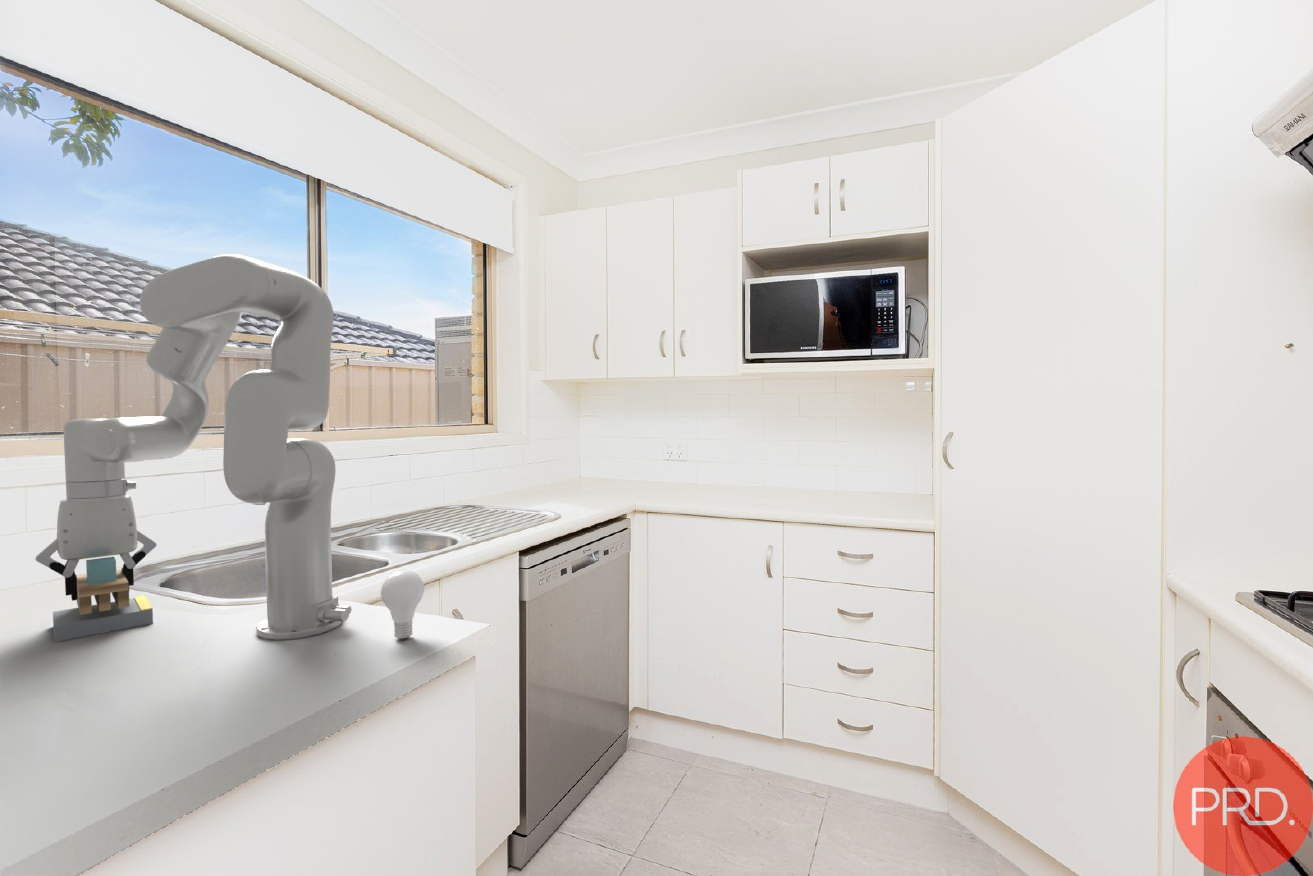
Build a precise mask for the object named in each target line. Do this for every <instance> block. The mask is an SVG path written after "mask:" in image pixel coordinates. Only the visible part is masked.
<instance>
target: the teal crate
mask: <svg viewBox="0 0 1313 876" xmlns="http://www.w3.org/2000/svg"><path fill="white" fill-rule="evenodd" d="M85 565H86V574H87V582H88V585H91V584H98V583H104V582H111V581H117V577H116V570H117V560H116V558H115V556H105V557H98V558H90V559H85Z"/></svg>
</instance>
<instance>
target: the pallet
mask: <svg viewBox="0 0 1313 876" xmlns="http://www.w3.org/2000/svg"><path fill="white" fill-rule="evenodd" d="M76 576H77V599H76V600H75V601H76V603H77V608H78V609H79V613H80V615H83V614H89V613H92V605H93V603H92V601H93V600H92V597H93V596H94V597H93V598H94V601H95V603H96V605H97V606H98V609H99V612H101V611H106V610H111V602H112V599H111V597H113V599H114V602H116V604H117V607H118V608H124V607H129V599H130V586H129V583H128V581H127V579H126V577H125V576H124V574H123V573H122V569H116V577H117V581H111V582H104V583H98V584H91V585H88V582H87V573H86V574H82V575H81V574H79V575H76ZM111 595H112V596H111Z"/></svg>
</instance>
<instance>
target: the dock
mask: <svg viewBox="0 0 1313 876" xmlns="http://www.w3.org/2000/svg"><path fill="white" fill-rule="evenodd" d="M153 615H154V613H153V606H152V605H151V603H150V602H149V600H148V598H147V596H146V595H139V596H134V597H133V598H129V607H124V608H118V607H117V604H116V602H115V601H111V610H106V611H101V612H99V609H98V606H97V604H92V613H89V614H83V615H80V613H79V609H78V607H73V608H68V609H67V608H66V609H61V610H55V611H52V622H53V623H52V624H53V626H52V627H53V637H54V642H55V643H56V642H57V643H58V642H63V641H68V640H69V641H70V640H73V639H79V638H83V637H88V636H93V635H100V634H104V633H109V632H114V631H119V630H125V629H129V628H135V627H142V626H145V625H151V624H154V616H153Z"/></svg>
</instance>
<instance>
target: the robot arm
mask: <svg viewBox="0 0 1313 876" xmlns="http://www.w3.org/2000/svg"><path fill="white" fill-rule="evenodd" d="M139 308H140V311H141V314H142V315H143V317H144V318H145V319H146V321H147V322H149V323H151V324H152V325H153V326H157V327H159V328H162V329H161V330H160V332H159V333H158V336H157V337H156V340H155V341H154V343H153V345H152V347H151V348H150V349H149V352H148V353H147V355H146V359H145V360H146V363H147V365H148V367H149V368H150V369H151V370H152V371H153V372H155V374H157V375H159V376H160V377H162V378H164V380H165V379H166V380H168V381H169V382H171V385H172V394H171V398H170V400H169V402H168V404H167V405H166V407H165V409H164V410H163V411H162V413H161V415H160V416H136V417H135V416H133V417H132V416H130V417H127V416H126V417H125V416H124V417H111V418H105V417H104V418H99V417H98V418H96V417H95V418H93V417H91V418H73V419H70V420H67V421H66V422H65V424H64V425H63V447H64V449H63V450H64V471H65V473H64V474H65V489H66V490H65V491H66V493H65V494H66V495H65V496H66V499H62V500H60V501H59V506H58V511H57V512H58V513H57V523H56V539H55V540H53V541H52V542H51V543H50V544H49V545H47V546H46V547H45V548H44V549H43V550H41V551H40V552H39V553H38V554H37V555H36V556H35V561H36V562H38V563H39V564H41V565H43V566H45V567H47V568H49V569H51V570H52V571H54V572H55V573H57V574H59V575H61V576H62V577H63V578H64V591H65V596H70V597H71V601H77V600H76V599H77V576H78V575H77V574H76V571H75V570H76V568H77V567H78V564H79V561H80V560H84V559H85V560H88V559H97V558H105V557H112V556H117V555H118V556H120V558H121V560H122V562H123V564H122V565H123V566H122V567H121V570H122V573H123V574H124V576H125V577H126V579H127V581H128V583H129V587H131V586H134V585H135V578H134V576H135V575H134V568H135V567H136V566H137V565H138V564H139V563H140V562H141V561H142V560H144V559H145V557H146V556H148V554H149V553H151V552H152V550H154V549H155V548H156V547H157V543H156V542H155V541H154V540H152V539H151V538H149V537H147V536H146V535H145V534H143V533H142V532H141V531H138V529H137V528H138V527H137V520H136V514H135V510H134V509H135V508H134V502H133V500H132V497H131V495H130V494H129V495H127V492H128V491H131V490H135V489H137V481H130V480H128V479H126V474H125V473H126V472H125V463H134V462H135V463H136V462H144V461H154V460H165V459H173V458H175V457H179V456H180V455H182V454H183V453H184V452H186V451H187V450H188V449H189V448H190V447H191V446H192V444H193V443H194V441H195V440H196V438H197V437H198V435H199V433H200V431H201V429H203V426H204V424H205V423H206V420H207V419H208V418H207V417H208V414H209V403H210V402H209V392H208V388H207V385H206V380H207V378H208V376H209V374H210V372H211V371H212V369H213V367H214V366H215V363H216V362H217V360H218V358H219V356H220V355H221V354H222V351H223V350H224V348H225V347H226V345H227V344H228V341H229V340H230V338H231V337H232V335H233V333H234V332H235V329H236V328H237V327H238V324H239V322H240V320H241V317H242V313H244V314H249V315H252V316H258V317H265V318H269V319H274V320H276V321H279V322H280V323H281V324H280V326H279V327H278V328H277V330H276V332H275V334H274V337H273V338H272V342H271V347H270V356H271V357H270V366H269V367H270V368H269V369H257V370H252V371H248V372H246V373H244V374H243V375H240V376H239V377H238V378H237V379H236V380H235V381H234V382H233V384H232V385H231V387H230V388H229V391H228V393H227V396H226V399H225V405H224V406H225V407H224V422H223V423H224V424H223V425H224V427H223V460H222V461H223V462H222V467H223V476H224V481H225V485H227V489H228V490H229V491H230V493H231V494H232V495H233V496H234V497H236V498H237V499H238V500H240V501H242V502H244V503H246V504H253V505H255V504H257V505H259V504H268V503H269V505H268V509H267V511H266V515H265V524H264V544H265V546H264V548H265V551H264V552H265V576H266V577H265V579H266V581H265V583H266V585H265V586H266V610H267V612H266V613H267V615H266V617H267V618H266V619H263V620H261V621H260V622H259V623H258V624H257V625H256V629H255V631H256V632H255V633H256V635H257V636H258V637H260V638H262V639H266V640H277V641H278V640H293V639H301V638H306V637H307V638H308V637H312V636H315V635H320V634H322V633H325V632H328V631H330V630H334V629H335V628H337V627H338V626H339V625H341V624H342V623H343V622H347V621H348V619H349V617H350V614H351V613H352V606H350V605H340V604H339V596H334V595H333V569H332V566H333V564H332V562H333V561H332V499H333V493H334V492H333V491H334V487H335V482H336V479H335V478H336V472H337V471H336V462H335V458H334V456H333V454H332V452H331V450H330V449H329V448H327V447H326V446H325V445H324V444H322V443H321V442H319V441H317V440H314V439H310V438H300V437H299V438H298V437H295V438H288V437H289V432H293V431H294V432H295V431H307V430H310V429H315V428H317V427H319V426H320V425H322V424H323V423H324V422H325V420H326V418H327V416H328V413H329V406H330V404H329V403H330V389H331V388H330V385H331V351H332V350H331V348H332V347H331V346H332V339H333V338H332V337H333V330H334V309H333V308H334V307H333V305H332V303H331V299H330V298H329V296H328V295H327V293H326V291H325V290H324V289H322V288H321V286H320V285H318V284H317V283H315V282H314V281H313V280H311V279H310V278H308V277H306V276H303V275H302V274H300V273H297V272H294V271H292V270H288V269H286V268H283V267H282V266H281V267H280V266H277V265H274V264H271V263H267V262H264V261H261V260H259V259H256V258H252V257H249V256H244V255H241V254H230V253H229V254H221V255H217V256H213V257H210V258H206V259H204V260H203V259H202V260H199V261H197V262H192V263H190V264H187V265H183V266H179V267H177V268H174V269H170V270H168V271H166V272H162V273H160V274H159V275H157V276H155V277H154V278H152V279H150V281H149V282H147V284H146V285H145V286H144V287H143V289H142V291H141V293H140V297H139ZM138 542H140V544H142V545H143V546H142V547H141V548H140V549H139V550H137V551H136V549H137V548H138ZM134 551H136V552H135V553H134V554H133V555H131V554H130V553H132V552H134ZM56 552H57V553H58V555H59V558H60V559H61V560H66V562H65V564H63V563H61V562H59V561H58V560H55V559H53V558H52V557H51V556H52V555H53V554H55V553H56Z"/></svg>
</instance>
